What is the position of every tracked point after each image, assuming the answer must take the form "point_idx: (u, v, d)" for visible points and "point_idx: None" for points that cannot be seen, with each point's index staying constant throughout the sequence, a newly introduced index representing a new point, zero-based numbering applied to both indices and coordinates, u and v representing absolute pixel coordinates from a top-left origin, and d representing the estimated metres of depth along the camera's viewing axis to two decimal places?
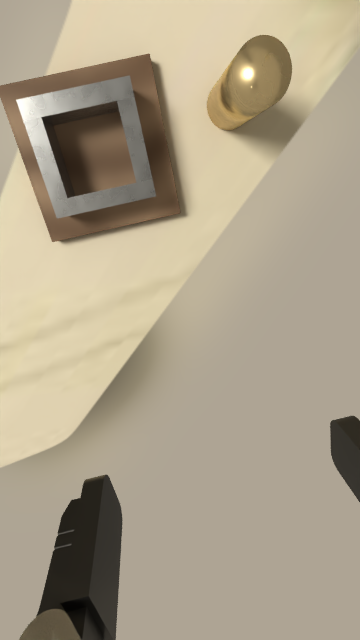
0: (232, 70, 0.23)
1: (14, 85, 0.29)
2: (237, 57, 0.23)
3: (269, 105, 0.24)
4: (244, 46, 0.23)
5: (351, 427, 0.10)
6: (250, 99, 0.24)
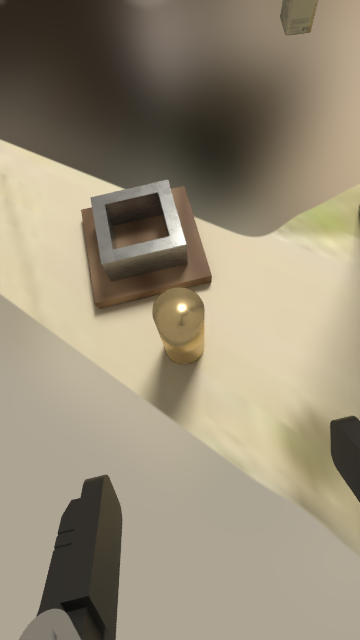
0: None
1: (185, 195, 0.42)
2: (187, 289, 0.28)
3: (155, 320, 0.27)
4: (195, 294, 0.28)
5: (351, 427, 0.10)
6: (159, 303, 0.28)
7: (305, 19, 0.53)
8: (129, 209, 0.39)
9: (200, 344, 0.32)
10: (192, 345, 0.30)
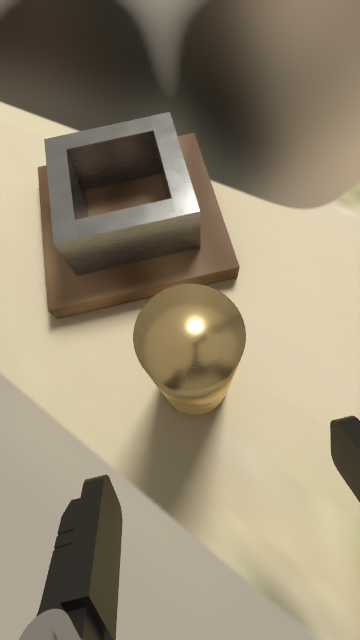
0: None
1: (196, 145, 0.28)
2: (208, 288, 0.13)
3: (138, 353, 0.12)
4: (224, 298, 0.13)
5: (351, 427, 0.10)
6: (148, 317, 0.13)
7: None
8: (108, 161, 0.25)
9: (226, 390, 0.17)
10: (214, 397, 0.15)
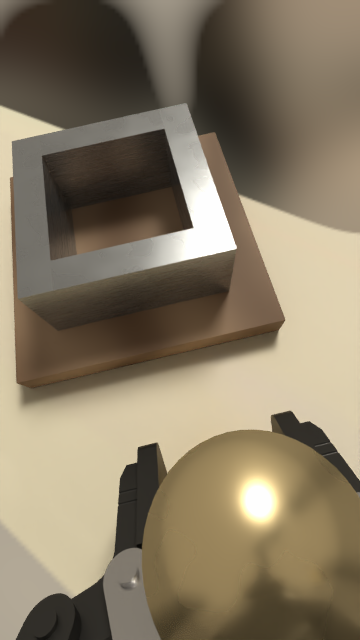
0: None
1: (217, 149, 0.21)
2: (291, 443, 0.07)
3: (153, 604, 0.06)
4: (328, 467, 0.06)
5: (285, 421, 0.11)
6: (171, 509, 0.06)
7: None
8: (101, 171, 0.18)
9: None
10: None
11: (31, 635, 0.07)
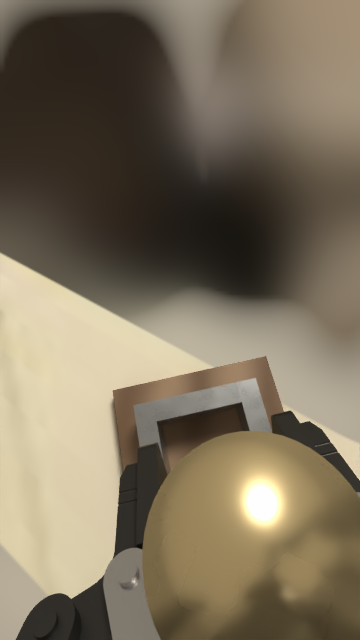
0: None
1: (269, 373, 0.28)
2: (292, 444, 0.07)
3: (153, 606, 0.06)
4: (328, 468, 0.06)
5: (285, 421, 0.11)
6: (171, 510, 0.06)
7: None
8: (191, 415, 0.25)
9: None
10: None
11: (31, 635, 0.07)
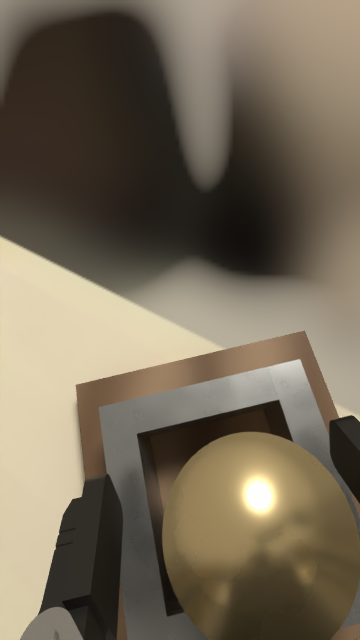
0: None
1: (310, 355, 0.19)
2: (285, 442, 0.08)
3: (172, 575, 0.07)
4: (314, 462, 0.08)
5: (350, 427, 0.10)
6: (185, 497, 0.08)
7: None
8: (195, 422, 0.16)
9: None
10: None
11: None
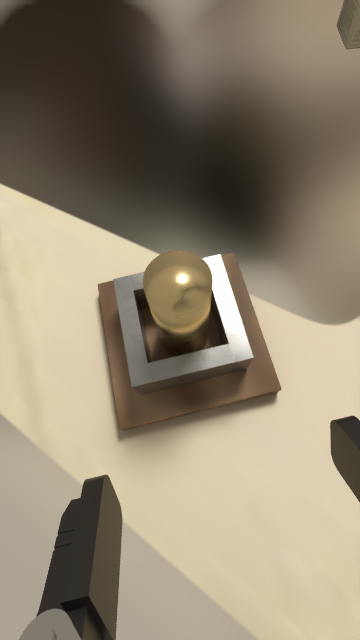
0: None
1: (236, 265, 0.32)
2: (189, 253, 0.21)
3: (146, 292, 0.20)
4: (200, 258, 0.21)
5: (351, 427, 0.10)
6: (151, 271, 0.21)
7: None
8: None
9: (204, 329, 0.25)
10: (195, 329, 0.23)
11: None
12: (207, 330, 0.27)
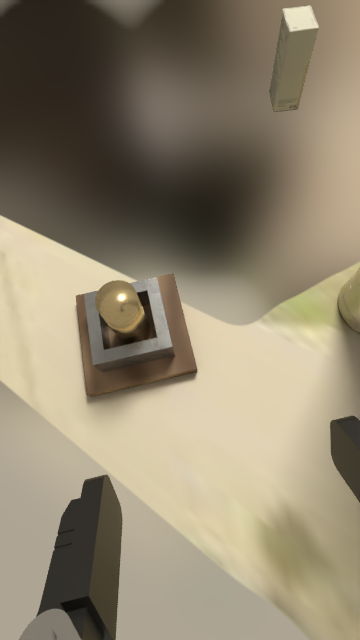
0: None
1: (174, 283, 0.45)
2: (124, 282, 0.34)
3: (97, 307, 0.33)
4: (130, 285, 0.34)
5: (351, 427, 0.10)
6: (100, 294, 0.34)
7: (292, 99, 0.56)
8: None
9: (142, 328, 0.38)
10: (132, 328, 0.36)
11: None
12: (147, 328, 0.40)
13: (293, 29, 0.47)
